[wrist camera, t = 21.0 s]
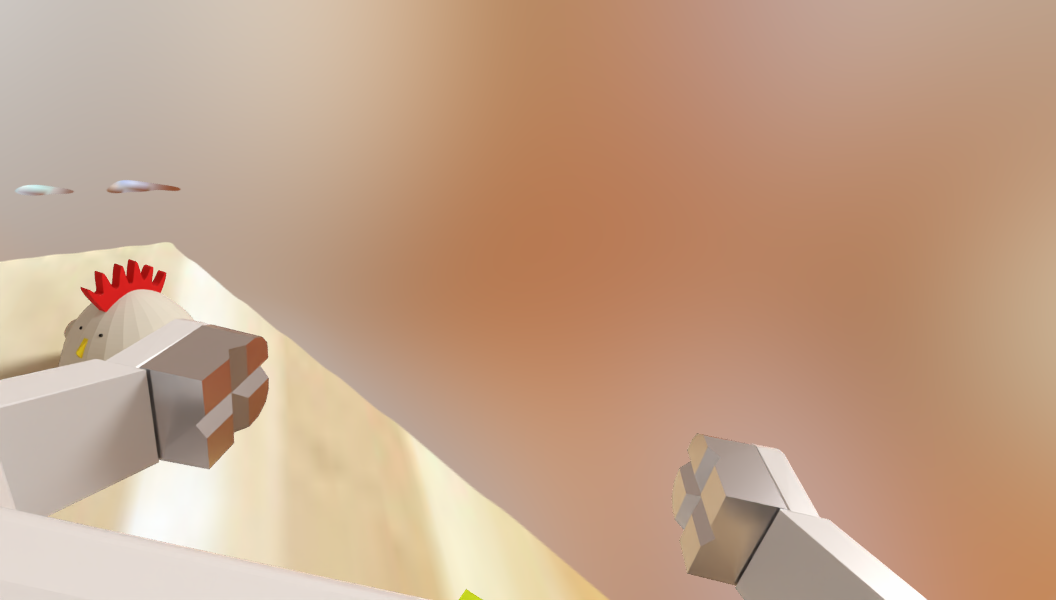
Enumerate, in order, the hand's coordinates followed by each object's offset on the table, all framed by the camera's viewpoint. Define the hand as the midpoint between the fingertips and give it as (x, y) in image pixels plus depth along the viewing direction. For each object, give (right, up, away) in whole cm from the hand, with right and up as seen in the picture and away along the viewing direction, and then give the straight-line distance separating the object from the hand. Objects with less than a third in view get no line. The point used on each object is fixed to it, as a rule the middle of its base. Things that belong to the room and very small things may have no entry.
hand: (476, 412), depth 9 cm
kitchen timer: (-43, -8, +48) cm, 65 cm away
